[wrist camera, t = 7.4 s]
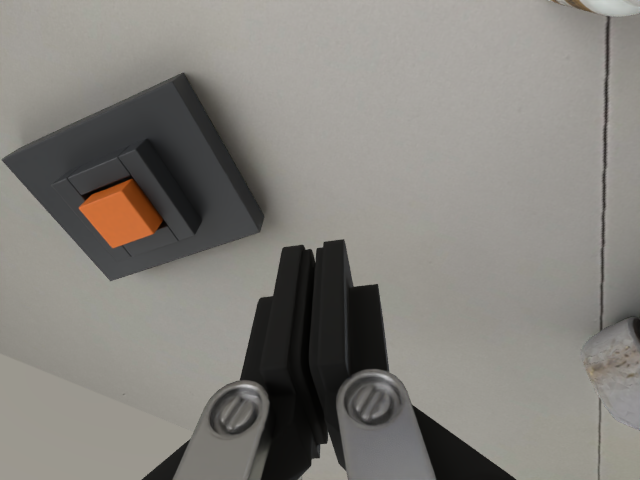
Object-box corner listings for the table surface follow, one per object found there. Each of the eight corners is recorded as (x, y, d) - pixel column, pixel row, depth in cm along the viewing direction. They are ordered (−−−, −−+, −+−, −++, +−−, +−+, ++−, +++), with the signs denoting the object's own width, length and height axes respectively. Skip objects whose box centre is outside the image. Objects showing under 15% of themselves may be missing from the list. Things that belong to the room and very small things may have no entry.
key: (91, 194, 24) (77, 207, 23) (133, 177, 23) (121, 190, 22) (123, 234, 25) (112, 249, 24) (164, 219, 25) (154, 234, 23)
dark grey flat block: (21, 146, 26) (-19, 171, 23) (183, 72, 23) (161, 89, 20) (121, 264, 31) (99, 297, 28) (264, 216, 28) (256, 247, 25)
